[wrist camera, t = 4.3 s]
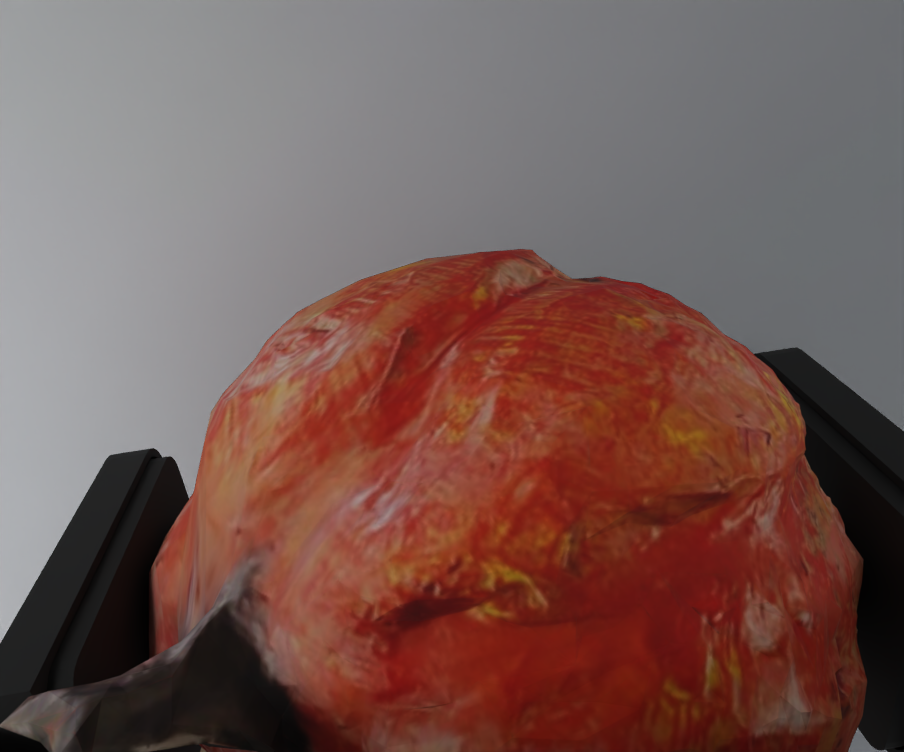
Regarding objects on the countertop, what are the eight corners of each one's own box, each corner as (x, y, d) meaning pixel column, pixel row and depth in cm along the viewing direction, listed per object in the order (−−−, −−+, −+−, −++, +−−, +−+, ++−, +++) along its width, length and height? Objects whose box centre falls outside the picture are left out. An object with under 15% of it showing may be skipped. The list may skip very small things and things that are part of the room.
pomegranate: (684, 229, 13) (149, -117, 5) (1064, 590, 10) (1247, 1267, 2) (428, 497, 16) (-162, 544, 8) (649, 847, 12) (-1, 1531, 5)
